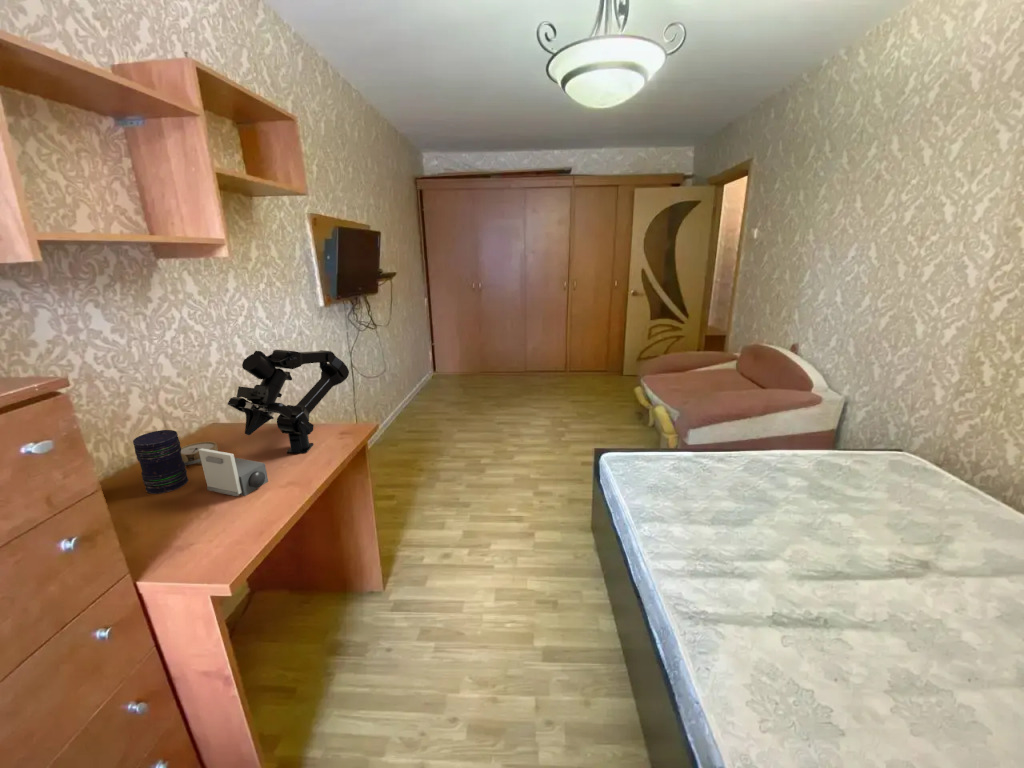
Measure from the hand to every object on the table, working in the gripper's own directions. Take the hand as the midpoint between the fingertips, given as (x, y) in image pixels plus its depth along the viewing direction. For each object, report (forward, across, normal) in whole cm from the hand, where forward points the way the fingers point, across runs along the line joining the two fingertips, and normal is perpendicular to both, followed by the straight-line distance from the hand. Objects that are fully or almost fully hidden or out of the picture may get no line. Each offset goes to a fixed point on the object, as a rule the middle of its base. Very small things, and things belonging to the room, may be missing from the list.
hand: (247, 434), depth 125 cm
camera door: (+16, 0, +1) cm, 16 cm away
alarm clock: (+8, -26, +12) cm, 30 cm away
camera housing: (+13, 0, +6) cm, 15 cm away
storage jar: (+18, -20, +2) cm, 27 cm away
